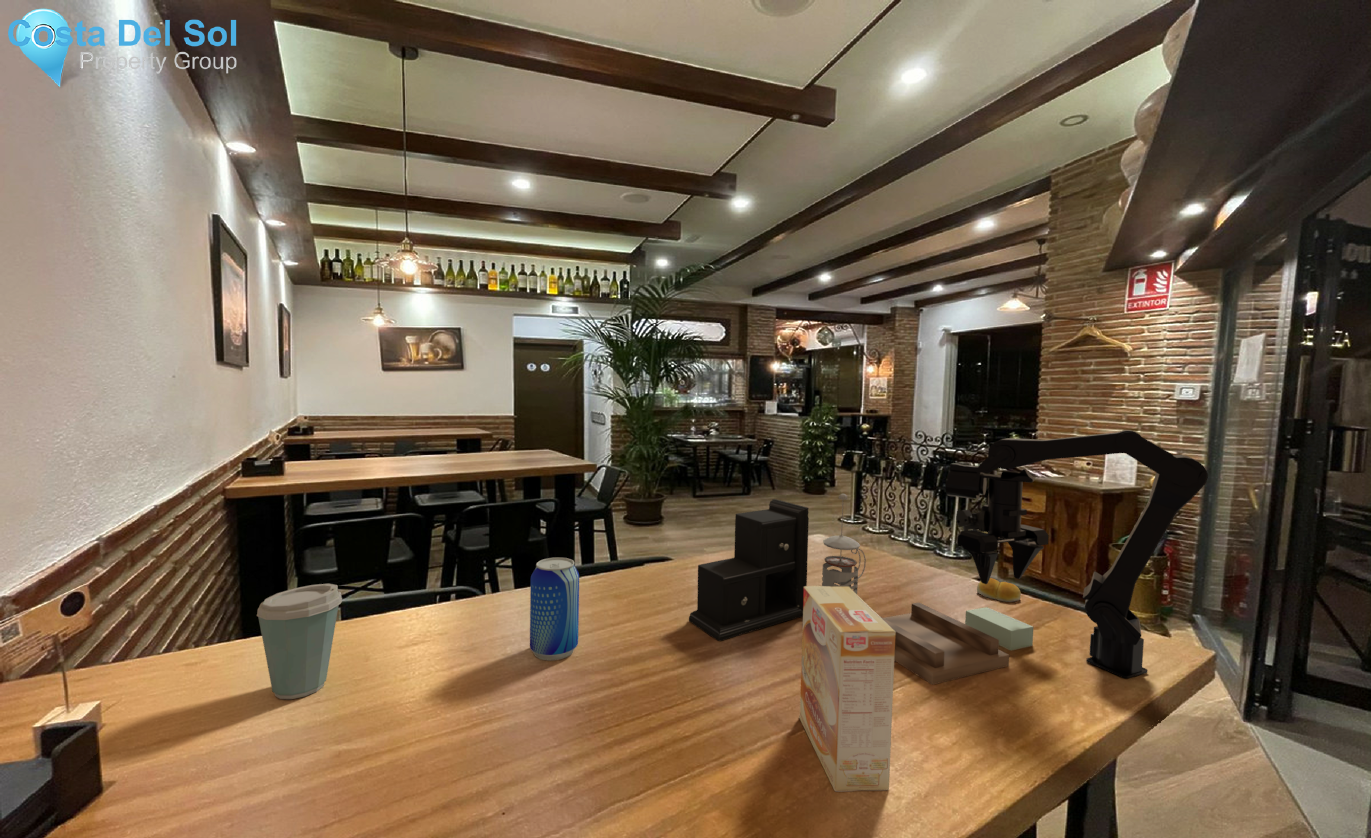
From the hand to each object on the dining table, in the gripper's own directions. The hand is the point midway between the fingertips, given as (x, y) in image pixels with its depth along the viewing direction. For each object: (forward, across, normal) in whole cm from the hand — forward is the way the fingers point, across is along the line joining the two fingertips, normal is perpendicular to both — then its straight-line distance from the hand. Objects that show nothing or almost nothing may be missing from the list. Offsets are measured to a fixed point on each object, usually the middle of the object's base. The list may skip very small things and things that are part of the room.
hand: (1000, 580), depth 106 cm
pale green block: (+12, 0, 0) cm, 12 cm away
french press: (+11, +18, -25) cm, 33 cm away
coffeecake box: (+11, +52, +17) cm, 56 cm away
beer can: (+11, +83, -23) cm, 87 cm away
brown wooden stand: (+11, +18, -1) cm, 21 cm away
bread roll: (+12, -21, -16) cm, 29 cm away
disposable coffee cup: (+11, +121, -24) cm, 124 cm away
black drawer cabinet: (+11, +43, -24) cm, 51 cm away
